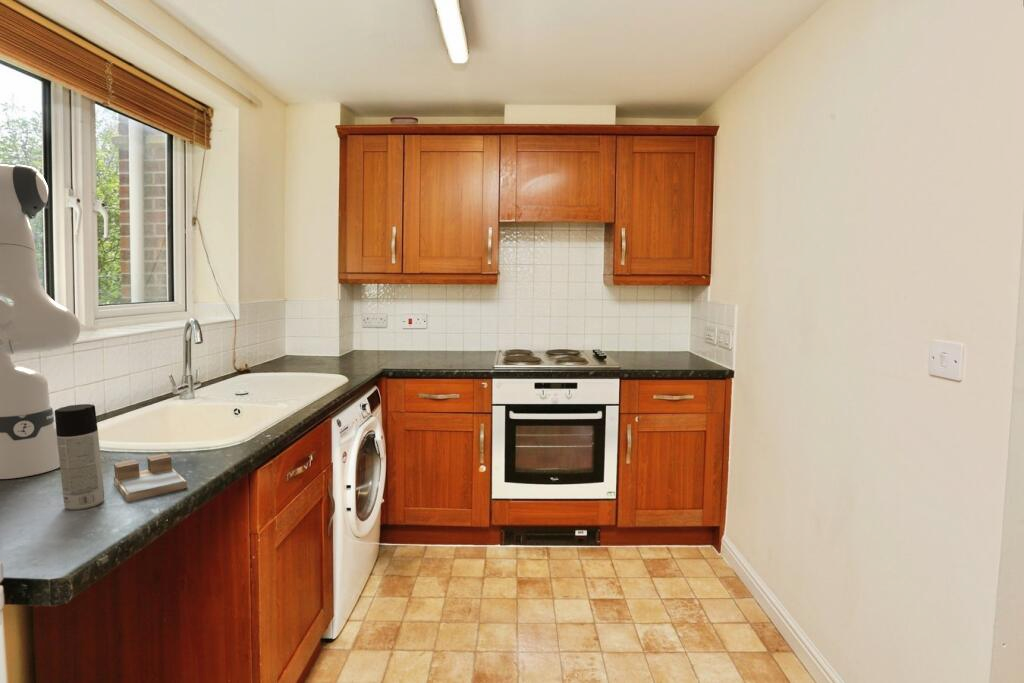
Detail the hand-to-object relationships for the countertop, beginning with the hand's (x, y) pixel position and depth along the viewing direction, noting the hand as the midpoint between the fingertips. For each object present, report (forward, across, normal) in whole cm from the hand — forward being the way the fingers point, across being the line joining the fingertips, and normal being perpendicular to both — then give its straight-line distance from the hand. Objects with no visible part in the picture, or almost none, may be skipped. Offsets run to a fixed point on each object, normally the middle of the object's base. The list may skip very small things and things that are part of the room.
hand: (10, 343), depth 109 cm
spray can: (+31, +2, +15) cm, 35 cm away
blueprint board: (+39, +1, +5) cm, 39 cm away
